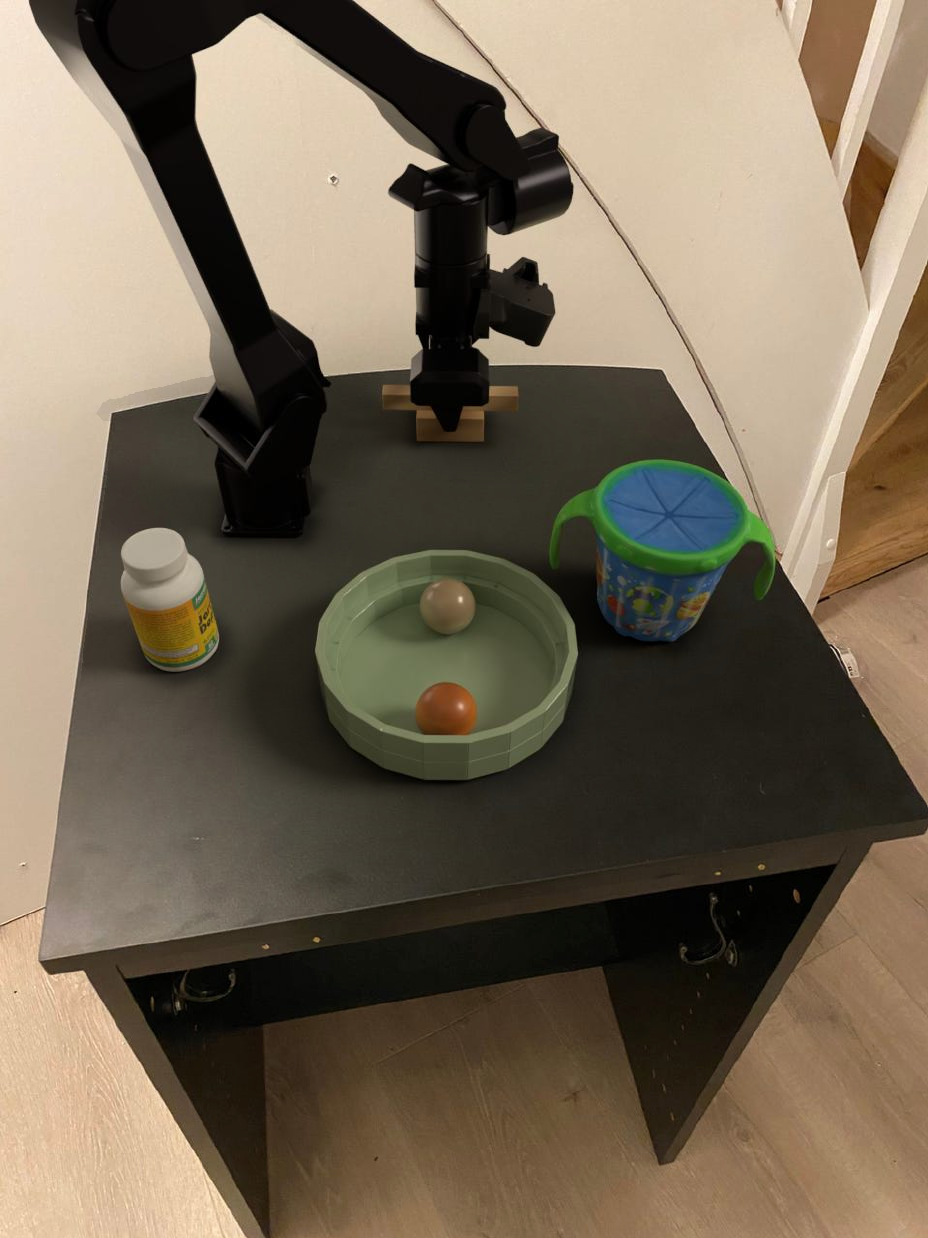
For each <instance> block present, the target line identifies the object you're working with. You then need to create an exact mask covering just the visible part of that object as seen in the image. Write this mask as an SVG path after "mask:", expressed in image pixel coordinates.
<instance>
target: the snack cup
mask: <svg viewBox="0 0 928 1238" xmlns="http://www.w3.org/2000/svg"><path fill="white" fill-rule="evenodd" d="M579 517H580V518H581V517H583V518H586V519H587V520H589V521H590V522H591V523H592V525H593V527H594V530H595V532H596V535H595V537H596V538H595V543H596V546H595V548H596V549H595V550H596V551H595V552H596V554H595V555H596V557H595V559H596V583H597V585H596V586H597V589H596V590H597V591H596V595H597V598H596V599H597V604H598V606H599V609H600V612H601V614H602V617H603V618H604V619H605V621H606V622H607V623H608V624H609V625H611V626H612V627H613V629H614V630H615V632H616V633H618V634H619V635H621V636H623V637H631V638H634V639H636V640H638V641H641V642H660V641H661V642H668V643H669V642H671V643H673V642H675V641H676V640H677V639H679V637H681V636H683V635H684V634H686V633H687V632H689V631H690V630H691V629H692V628H693V627H694V626H695V625H696V624H697V623H698V621H699V620H700V618H701V616H702V613H703V611H704V610H705V608H706V606H707V604H708V602H709V600H710V598H711V597H712V595H713V593H714V592H715V590H716V588H717V584H718V583H719V582H720V580H721V578H722V576H723V573H724V572H725V570H726V568H727V566H728V565H730V563H731V561H732V560H733V559H734V558H735V557H736V555H737V554H738V553H739V552H740V550H741V548H743V547H744V546H745V545H746V544H749V543H757V544H759V545H760V547H761V550H762V551H763V554H764V556H765V557H766V559H765V561H764V563H763V566H762V567H761V569H760V570H759V571H758V573H757V574H756V578H755V580H754V586H753V598H754V600H756V601H758V602H759V601H760V602H761V601H762V600H763V598H764V597H765V596H766V595H767V594H768V591H769V590H770V588H771V585H772V583H773V580H774V576H775V570H776V546H775V541H774V538H773V535H772V533H771V530H770V529H769V527H768V525H767V524H766V523H765V522H764V521H763V520H762V519H761V517H759V516H758V515H756V514H755V513H754V512H752V511H751V510H749V508H748V505H747V503H746V501H745V498H744V497H743V496H742V495H741V493H740V492H739V491H738V490H737V488H735V487H734V486H733V484H731V483H730V482H728V481H727V480H726V479H724V478H722V476H719V475H718V474H716V473H714V472H712V471H710V470H707V469H706V468H703V467H701V466H698V465H695V464H692V463H689V462H684V461H678V460H670V459H645V460H639V461H635V462H631V463H628V464H624V465H622V466H619V467H617V468H615V469H613V470H612V471H610V472H609V473H608V474H606V475H605V477H603V479H602V480H601V481H600V482H599V483H598V484H597V486H595V487H593V488H592V489H591V488H590V489H588V490H585V491H583V492H581V493H578V494H577V495H575V496H573V497H572V498H571V499H569V500H568V501H567V502H566V503H565V504H564V505H563V506H562V507H561V509H560V511H559V512H558V513H557V516H556V518H555V520H554V522H553V527H552V533H551V537H550V543H549V552H548V553H549V554H548V555H549V564H550V568H551V569H552V570H554V571H555V570H557V569H558V568H559V566H560V562H561V561H560V559H561V538H562V534H563V527H564V524H565V523H567V522H569V521H571V520H573V519H576V518H579Z"/></svg>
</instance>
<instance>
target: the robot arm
mask: <svg viewBox="0 0 928 1238" xmlns="http://www.w3.org/2000/svg"><path fill="white" fill-rule="evenodd" d="M28 5H29V8H30V11H31V14H32V17H33V19H34V23H35V24H36V26H37V28H38V29H39V31H40V33H41V34H42V36H43V37H44V39H45V40H46V42H47V43H48V45H49V46H50V48H51V49H52V51H53V52H54V53H55V55H56V57H57V58H58V59H59V61H60V62H61V64H62V65H63V66H64V68H65V70H66V71H67V72H68V74H69V75H70V77H71V78H72V79H73V81H74V82H75V84H77V86H78V87H79V89H80V90H81V91H82V92H83V94H84V95H85V96H86V97H87V99H88V100H89V101H90V102H91V103H92V105H93V106H94V107H95V109H96V110H97V111H98V112H99V113H100V115H101V116H102V117H103V119H104V120H105V121H106V123H108V125H109V126H110V128H112V130H113V131H114V132H115V134H116V135H117V136H118V138H119V140H120V141H121V143H122V146H123V148H124V150H125V152H126V154H127V156H128V158H129V161H130V163H131V165H132V167H133V169H134V171H135V173H136V175H137V178H138V181H139V182H140V184H141V186H142V188H143V190H144V192H145V194H146V197H147V198H148V201H149V203H150V205H151V207H152V209H153V211H154V214H155V216H156V218H157V220H158V222H159V224H160V227H161V228H162V231H163V233H164V235H165V237H166V240H167V241H168V243H169V245H170V248H171V249H172V252H173V254H174V256H175V258H176V261H177V262H178V264H179V266H180V269H181V271H182V272H183V276H184V277H185V280H186V282H187V284H188V285H189V288H190V290H191V292H192V294H193V296H194V298H195V300H196V303H197V305H198V308H199V309H200V311H201V313H202V315H203V318H204V320H205V322H206V324H207V326H208V329H209V334H210V335H209V352H208V358H209V362H210V366H211V369H212V373H213V377H214V383H213V385H212V386H211V388H209V389H210V390H209V391H208V393H207V394H206V396H205V397H204V399H203V401H202V403H201V404H200V406H199V408H198V409H197V410H196V412H195V414H194V416H193V422H195V424H196V426H197V427H198V428H199V429H200V431H201V432H202V433H203V435H204V436H205V437H206V438H208V439H210V441H212V442H213V443H214V444H215V445H216V446H217V448H216V452H215V455H214V459H213V464H214V469H215V474H216V478H217V482H218V487H219V493H220V496H221V501H222V505H223V510H224V517H223V521H222V525H221V533H222V535H223V536H227V537H300V536H302V535H303V534H304V531H305V530H304V529H305V525H306V518H307V517H309V516H310V515H311V513H312V507H313V501H314V496H315V495H314V488H313V480H312V471H311V464H312V461H313V460H312V459H313V455H314V451H315V446H316V442H317V437H318V434H319V428H320V423H321V420H322V417H323V415H324V414H326V413H327V411H328V399H327V393H326V391H325V388H330V387H331V386H332V383H331V381H330V380H329V379H327V378H326V377H325V374H324V373H323V371H322V369H321V365H320V360H319V354H318V351H317V348H316V345H315V342H314V340H312V339H311V338H310V337H309V336H307V335H306V334H305V333H304V332H302V331H301V330H299V329H298V328H297V327H296V326H294V325H293V324H291V323H290V322H289V321H288V320H287V319H285V318H284V317H283V316H281V315H280V314H279V313H277V312H276V311H275V310H273V309H272V308H270V306H269V303H268V301H267V298H266V296H265V293H264V291H263V289H262V286H261V283H260V281H259V278H258V276H257V274H256V271H255V269H254V265H253V263H252V261H251V258H250V255H249V253H248V251H247V248H246V246H245V244H244V241H243V238H242V236H241V233H240V230H239V229H238V226H237V224H236V220H235V218H234V215H233V213H232V211H231V209H230V206H229V204H228V201H227V198H226V196H225V194H224V191H223V188H222V186H221V183H220V181H219V178H218V176H217V174H216V171H215V168H214V166H213V163H212V160H211V159H210V155H209V153H208V151H207V148H206V145H205V144H204V141H203V139H202V136H201V133H200V131H199V128H198V127H199V126H198V122H197V83H198V82H197V77H198V76H197V71H196V70H197V69H196V66H195V62H194V57H193V55H195V54H197V53H199V52H203V51H204V50H207V49H209V48H212V47H214V46H216V45H218V44H219V43H220V42H222V41H223V40H224V39H225V38H226V37H227V36H229V35H230V34H231V33H232V32H234V30H236V29H237V28H238V27H239V26H240V25H242V24H243V23H244V22H245V21H246V20H248V19H250V18H253V17H255V18H257V19H258V20H260V21H261V22H263V24H266V25H267V26H268V27H270V28H271V29H273V30H274V31H276V32H277V33H278V34H280V35H281V36H283V37H284V38H285V39H287V40H288V41H290V42H292V43H293V44H294V45H296V46H297V47H299V48H300V49H302V50H303V51H304V52H306V53H307V54H309V55H310V56H311V57H313V58H315V60H317V61H319V62H320V63H322V64H323V65H325V66H326V67H327V68H329V69H330V70H332V71H333V72H334V73H336V74H338V75H339V76H341V77H342V78H343V79H345V80H347V81H348V82H349V83H351V84H352V85H353V86H355V87H357V88H358V89H359V90H361V91H362V92H363V93H364V94H365V95H366V96H367V97H368V98H369V99H370V100H371V101H372V102H373V104H374V105H375V107H376V109H377V111H378V112H379V114H380V116H381V117H382V118H383V119H384V120H385V121H386V123H388V124H389V125H390V127H391V128H392V129H393V130H394V131H395V133H397V134H398V136H400V138H402V139H403V140H404V142H406V143H407V144H408V145H410V146H412V147H414V148H415V149H417V150H419V151H421V152H423V153H425V154H427V155H429V156H431V157H432V158H433V157H434V158H435V159H437V160H439V161H441V162H443V163H444V164H443V165H439V166H435V167H433V168H429V169H424V168H422V167H421V166H420V167H419V166H418V165H416V164H414V163H408V164H407V165H406V167H405V170H404V171H403V172H402V174H401V175H400V176H399V177H397V178H396V179H395V180H394V181H393V182H392V184H391V185H390V186H389V187H388V190H387V194H388V196H389V197H390V198H392V200H395V201H397V202H399V203H401V204H402V205H404V206H406V207H408V208H409V209H411V210H412V211H413V230H414V231H413V232H414V269H413V270H414V271H413V287H414V289H415V322H414V323H415V324H414V327H415V329H414V330H415V336H417V337H418V340H419V342H420V345H421V348H422V349H420V350H419V351H418V352H417V353H416V354H415V355H414V356H413V357H412V358H410V359H411V361H410V373H409V374H410V376H409V385H410V398H411V402H412V403H413V404H415V405H417V406H430V407H431V409H432V410H433V412H434V414H435V416H436V418H437V419H438V421H439V423H440V425H441V427H442V429H443V430H444V431H445V432H455V431H456V430H457V427H458V423H459V420H460V416H461V413H462V410H463V406H474V407H482V406H484V405H486V404H487V403H489V388H490V386H491V379H490V360H489V358H488V357H487V356H486V355H485V354H484V353H483V352H481V350H480V349H479V348H477V347H474V346H473V345H475V344H476V342H478V341H479V340H490V331H491V330H493V331H494V332H496V333H498V334H501V335H504V336H506V337H509V338H513V339H516V340H519V341H520V342H523V344H525V345H526V346H529V347H532V348H538V347H540V345H541V344H542V342H543V340H544V338H545V336H546V334H547V331H548V330H549V327H550V325H551V323H552V322H553V319H554V317H555V315H556V306H555V305H556V304H555V298H554V293H553V292H552V291H551V289H549V284H548V283H547V282H542V284H540V274H539V273H540V272H539V265H538V264H539V263H538V261H536V260H533V259H531V258H528V257H525V256H522V257H520V258H519V259H518V260H516V261H515V262H514V263H513V264H511V266H509V267H508V268H506V267H504V268H503V269H502V271H498V270H495V269H491V254H490V253H488V239H489V237H488V235H489V233H488V232H489V229H490V230H491V231H492V232H493V233H494V234H496V235H500V236H508V235H512V234H514V233H515V234H516V233H517V232H520V231H522V230H526V229H529V228H531V227H535V226H537V225H540V224H543V223H545V222H549V221H551V220H554V219H557V218H560V217H561V216H564V215H565V214H566V212H567V211H568V210H569V208H570V206H571V204H572V202H573V198H574V197H573V196H574V188H575V186H574V183H573V182H572V175H571V171H570V169H569V165H568V163H567V160H566V159H565V157H564V155H563V154H562V152H561V151H560V150H559V143H560V135H559V134H557V133H556V132H553V131H551V130H549V129H546V128H545V127H542V126H541V127H538V128H535V129H532V130H529V131H527V132H526V133H525V134H523V135H519V136H516V135H515V133H514V132H513V130H512V128H511V126H510V125H509V123H508V121H507V120H506V110H507V102H506V99H505V96H504V95H503V94H502V93H501V91H500V90H499V89H498V88H497V87H496V86H494V85H493V84H491V83H489V82H486V81H485V80H482V79H480V78H478V77H476V76H474V75H471V74H469V73H467V72H465V71H463V70H460V69H458V68H456V67H453V66H452V65H449V64H447V63H445V62H442V61H441V60H438V59H436V58H434V57H431V56H429V55H428V54H425V53H423V52H421V51H418V50H417V49H415V48H414V47H413V46H412V45H411V44H410V43H408V42H406V41H405V39H404V38H402V37H400V36H399V35H398V34H397V33H396V32H394V31H392V29H390V28H389V27H388V26H386V25H385V24H384V23H382V21H380V20H379V19H377V18H376V17H375V16H374V15H373V14H371V12H369V11H368V10H366V9H365V8H364V7H363V6H362V5H360V4H358V3H357V2H356V1H355V0H28ZM490 329H491V330H490Z"/></svg>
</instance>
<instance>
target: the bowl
mask: <svg viewBox="0 0 928 1238" xmlns="http://www.w3.org/2000/svg"><path fill="white" fill-rule="evenodd" d="M444 578H451V579H456V580H458V581H460V582H462V583H464V584H465V585H466V586H467V587H468V588H469V589H470V590H471V592H472V594H473V596H474V599H475V605H476V608H475V614H474V617H473V619H472V621H471V622H470V624H469V625H468V626H467V627H466V628H465V629H463V630H462V631H460V632H458V633H454V634H441V633H438V632H435V631H433V630H432V629H431V628H429V627H428V626H427V625H426V623H425V622H424V621H423V619H422V616H421V613H420V599H421V596H422V594H423V592H424V591H425V589H426V588H427V587H428V586H429V585H430V584H431V583H433V582H435V581H437V580H440V579H444ZM577 641H578V640H577V633H576V624H575V622H574V620H573V618H572V617H571V614H570V613H569V611H568V610H567V608H566V606H565V604H564V602H563V600H562V598H561V597H560V596H559V594H557V593H556V592H555V591H554V590H553V589H552V588H551V587H550V586H549V585H547V584H546V582H544V581H543V580H542V579H541V578H540V577H538V576H537V574H535V573H533V572H532V571H529V570H527V569H525V568H523V567H522V566H520V565H517V564H515V563H514V562H511V561H509V560H507V559H505V558H502V557H498V556H494V555H490V554H485V553H480V552H477V551H473V550H467V549H427V550H423V551H417V552H413V553H408V554H407V553H406V554H403V555H398V556H394V557H391V558H388V559H387V560H385V561H383V562H381V563H379V564H378V563H377V564H376V565H374V566H371V567H369V568H367V569H365V570H363V571H361V572H359V574H357V575H356V576H355V577H354V578H352V579H351V580H350V581H349V582H348V583H347V584H346V585H344V586H343V587H342V588H341V589H340V590H338V591H337V592H336V593H335V594H334V596H333V598H332V599H331V601H330V603H329V605H328V606H327V608H326V609H325V611H324V612H323V615H322V616H321V618H320V620H319V622H318V628H317V636H316V642H315V649H314V655H315V660H316V668H317V674H318V680H319V686H320V692H321V696H322V700H323V702H324V706H325V710H326V713H327V717H328V720H329V722H330V723H331V724H332V726H333V727H334V728H335V729H336V731H337V732H338V733H339V734H340V736H341V737H342V738H343V739H344V741H345V743H347V744H348V746H349V747H350V748H351V749H353V750H354V751H356V752H357V753H359V754H361V755H362V756H364V757H365V758H366V759H368V760H370V761H371V762H373V763H375V764H376V765H378V766H379V767H380V768H382V769H385V770H388V771H391V772H394V773H395V772H396V773H398V774H402V775H405V776H406V775H407V776H409V777H413V778H416V779H420V780H424V781H468V780H473V779H476V778H480V777H485V776H487V775H491V774H495V773H499V772H502V771H506V770H508V769H511V768H512V767H513V766H515V765H517V764H518V763H520V762H522V761H523V760H525V759H526V758H528V757H529V756H531V755H533V754H535V753H536V752H538V751H539V750H540V749H542V748H543V747H544V745H545V744H546V743H547V742H548V740H549V739H550V738H551V737H552V736H553V734H554V733H555V732H556V730H558V728H559V727H560V726H561V724H562V723H563V722H564V719H565V716H566V713H567V710H568V707H569V704H570V701H571V697H572V693H573V689H574V682H575V676H576V671H577V670H576V669H577V663H578V656H579V651H578V650H579V649H578V642H577ZM441 682H452V683H456V684H458V685H460V686H462V687H464V688H465V689H466V690H467V691H468V692H469V693H470V694H471V695H472V697H473V698H474V701H475V703H476V707H477V720H476V723H475V726H474V728H473V730H472V731H471V732H470V734H469V735H423V734H422V732H421V731H420V729H419V728H418V725H417V723H416V718H415V708H416V704H417V701H418V699H419V697H420V696H421V694H422V693H423V692H424V691H425V690H426V689H427V688H429V687H430V686H432V685H434V684H437V683H441Z"/></svg>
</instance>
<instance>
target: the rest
mask: <svg viewBox="0 0 928 1238" xmlns="http://www.w3.org/2000/svg"><path fill="white" fill-rule="evenodd" d="M415 416H416V418H415V419H416V420H415V422H416V424H415V425H416V442H449V443H454V442H458V443H462V442H463V443H483V442H484V430H485V411H462V413H461V416H460V420H459V423H458V427H457V430H456V431H455V432H445V431H444V430H443V429H442V427H441V425H440V423H439V421H438V419H437V418H436V416H435V414H434V412H433V410H416V415H415Z"/></svg>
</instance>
